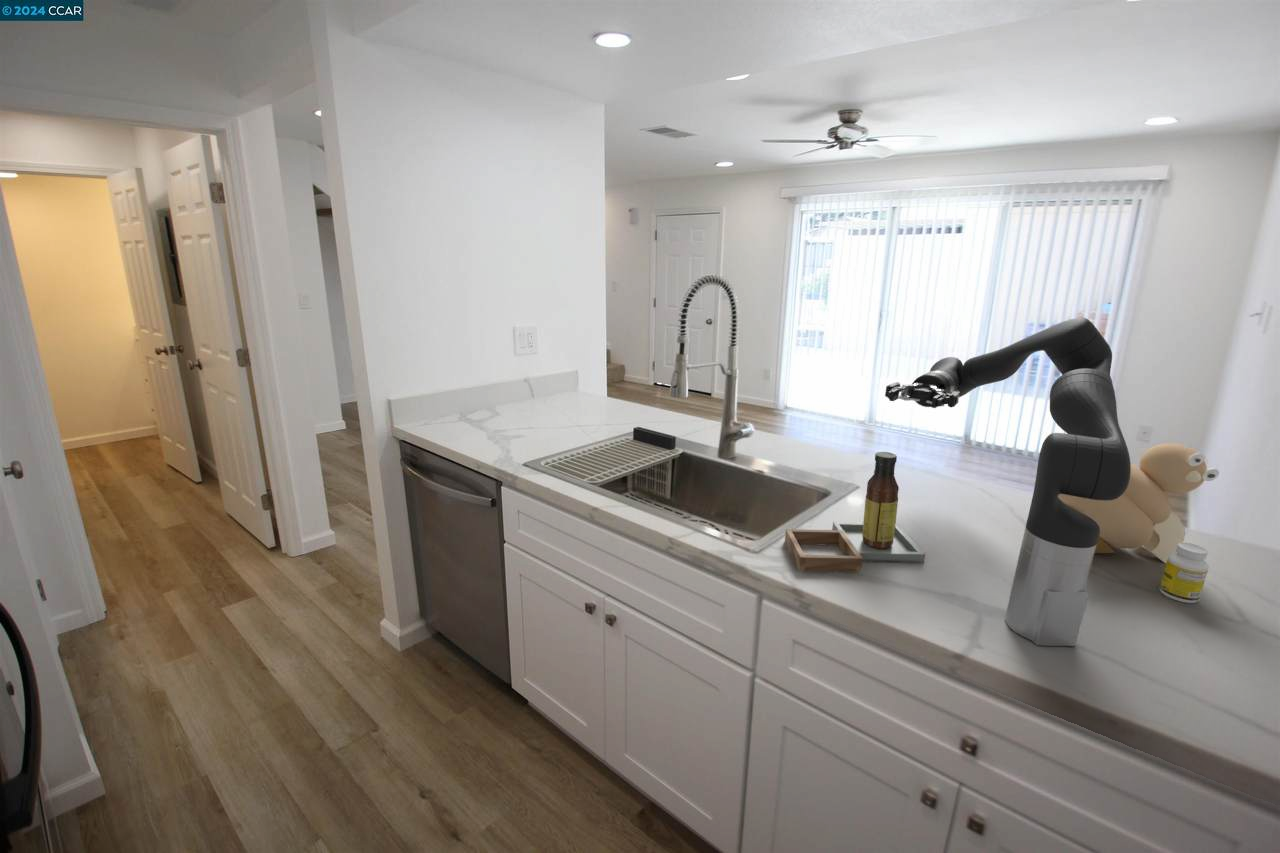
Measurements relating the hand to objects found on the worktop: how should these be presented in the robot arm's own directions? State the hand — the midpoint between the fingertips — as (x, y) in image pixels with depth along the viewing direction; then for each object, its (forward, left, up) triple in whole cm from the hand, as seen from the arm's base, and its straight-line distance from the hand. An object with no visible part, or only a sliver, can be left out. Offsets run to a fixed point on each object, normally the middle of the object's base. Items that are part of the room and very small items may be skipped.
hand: (912, 399), depth 122 cm
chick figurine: (-7, -41, -30) cm, 51 cm away
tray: (-9, +7, -30) cm, 32 cm away
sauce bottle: (-8, +7, -30) cm, 32 cm away
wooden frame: (-14, +20, -30) cm, 39 cm away
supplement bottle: (-26, -42, -30) cm, 58 cm away
